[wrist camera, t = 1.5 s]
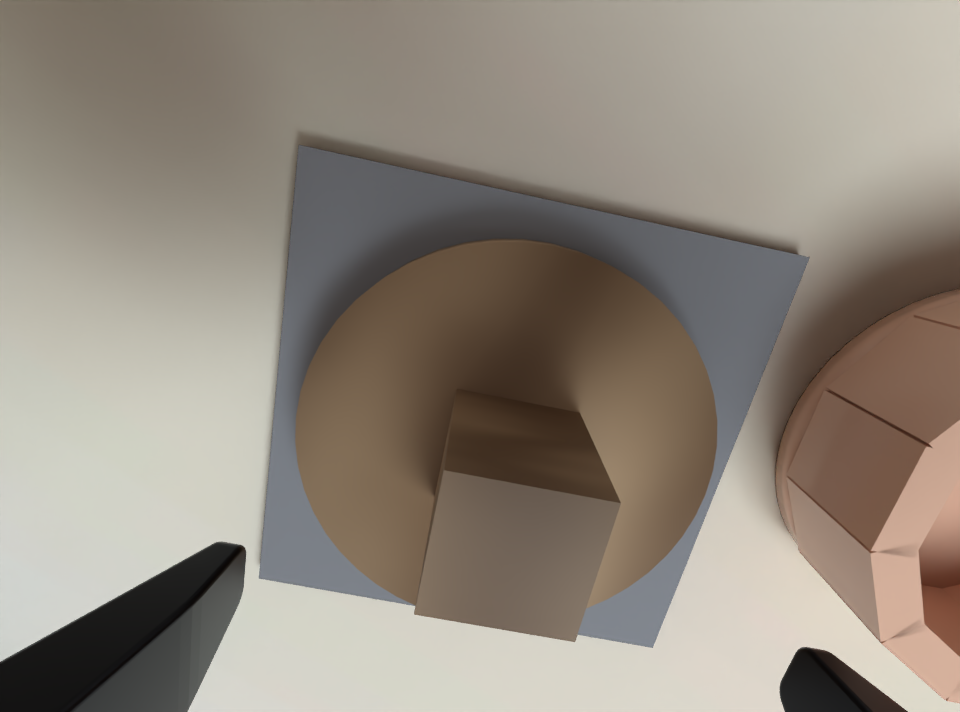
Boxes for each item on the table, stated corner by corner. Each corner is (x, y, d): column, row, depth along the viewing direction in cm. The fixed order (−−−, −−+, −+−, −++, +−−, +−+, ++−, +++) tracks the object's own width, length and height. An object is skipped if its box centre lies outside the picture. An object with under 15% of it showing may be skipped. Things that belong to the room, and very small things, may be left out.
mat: (799, 255, 13) (809, 257, 13) (648, 637, 17) (652, 647, 16) (304, 146, 12) (298, 144, 12) (264, 569, 16) (258, 578, 16)
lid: (756, 286, 13) (928, 338, 8) (633, 619, 16) (700, 805, 11) (334, 197, 12) (231, 192, 7) (293, 559, 15) (202, 728, 10)
